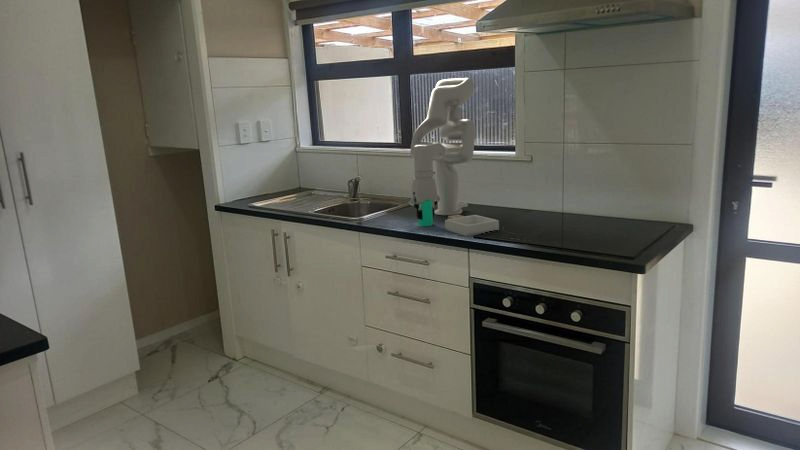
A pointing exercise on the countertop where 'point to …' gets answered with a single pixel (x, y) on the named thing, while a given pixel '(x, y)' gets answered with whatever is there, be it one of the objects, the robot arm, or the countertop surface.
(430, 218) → the candle
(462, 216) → the oak block
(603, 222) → the countertop surface
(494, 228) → the bin
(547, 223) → the countertop surface
